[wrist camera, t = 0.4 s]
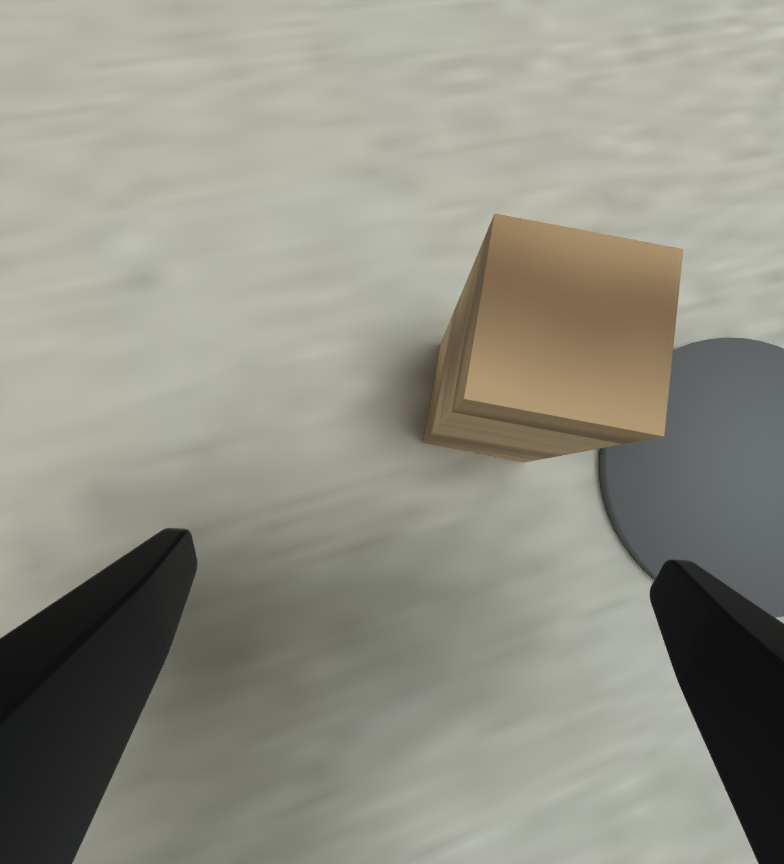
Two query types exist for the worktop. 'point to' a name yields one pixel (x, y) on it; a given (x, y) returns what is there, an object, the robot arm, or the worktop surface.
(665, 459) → the mat
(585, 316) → the tan wooden block
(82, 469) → the worktop surface
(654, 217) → the worktop surface
